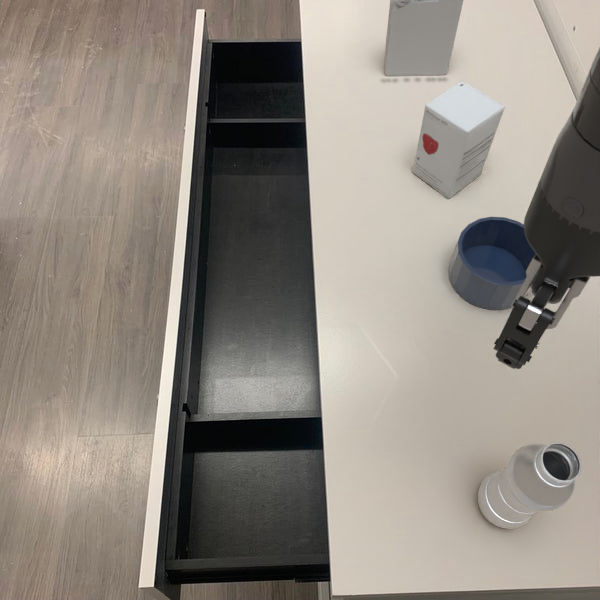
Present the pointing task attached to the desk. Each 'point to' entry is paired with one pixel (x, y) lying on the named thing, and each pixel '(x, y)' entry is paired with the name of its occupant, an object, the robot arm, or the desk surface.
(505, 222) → the bowl
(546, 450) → the silver bottle
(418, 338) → the desk surface
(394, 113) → the desk surface
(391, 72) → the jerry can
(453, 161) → the white product box
